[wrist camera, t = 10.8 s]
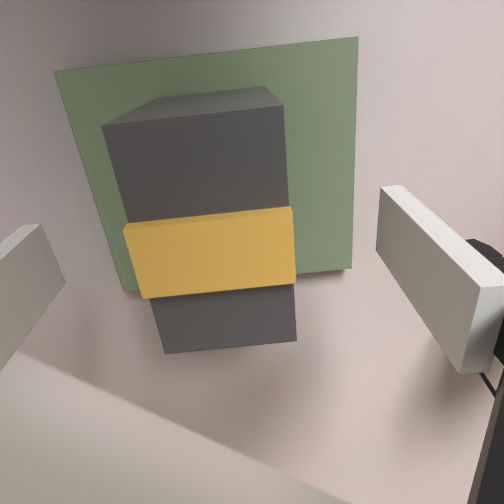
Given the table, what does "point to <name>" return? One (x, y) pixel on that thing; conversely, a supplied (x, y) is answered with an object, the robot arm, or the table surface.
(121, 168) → the block
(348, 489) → the table surface
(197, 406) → the table surface
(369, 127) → the table surface
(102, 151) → the board
